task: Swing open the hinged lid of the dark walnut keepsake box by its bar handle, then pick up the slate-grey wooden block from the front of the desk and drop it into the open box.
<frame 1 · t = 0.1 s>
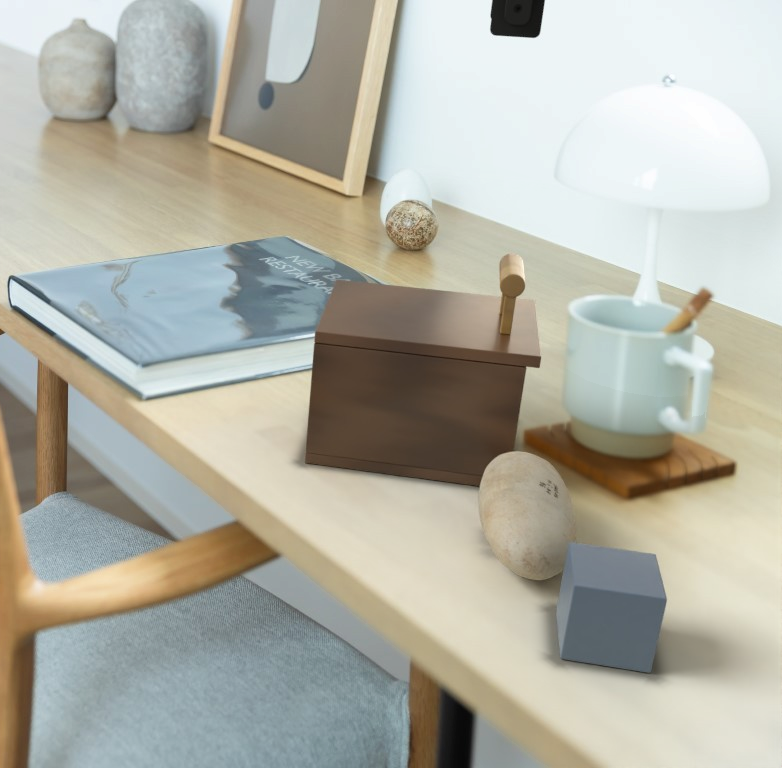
hand: (513, 28, 81), 28 cm above the table, tool pointing down, fingers open, 9 cm apart
stone: (517, 550, 71), on the table
block: (601, 641, 62), on the table
keepsake box: (409, 440, 84), on the table
lid: (433, 291, 80), point 11 cm above the table, hinge at 0.0°
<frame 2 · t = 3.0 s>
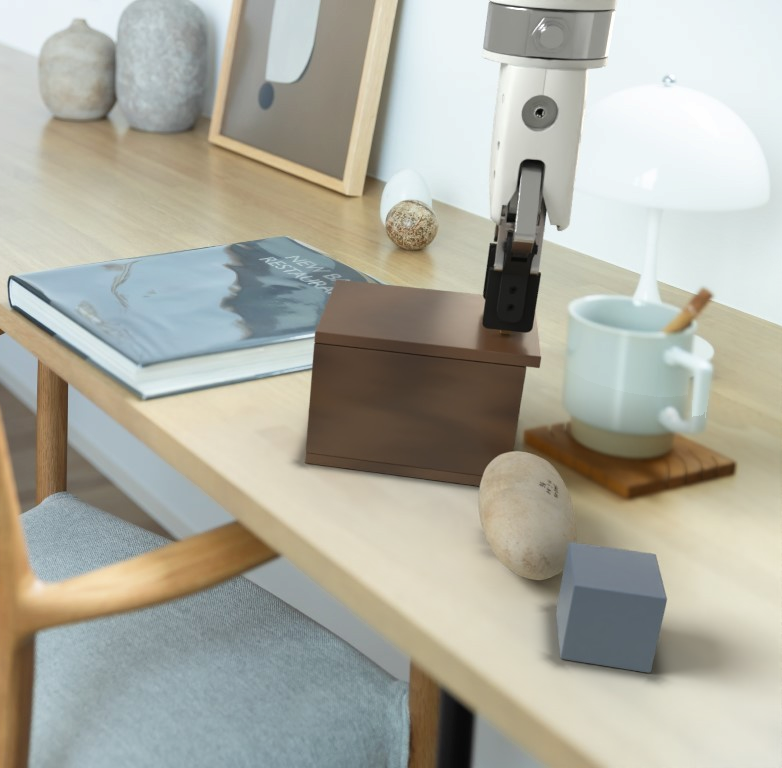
hand: (506, 312, 79), 10 cm above the table, tool pointing down, fingers closed on lid, 5 cm apart
lid: (433, 291, 80), point 11 cm above the table, hinge at 0.0°, touching gripper
everything else where it was.
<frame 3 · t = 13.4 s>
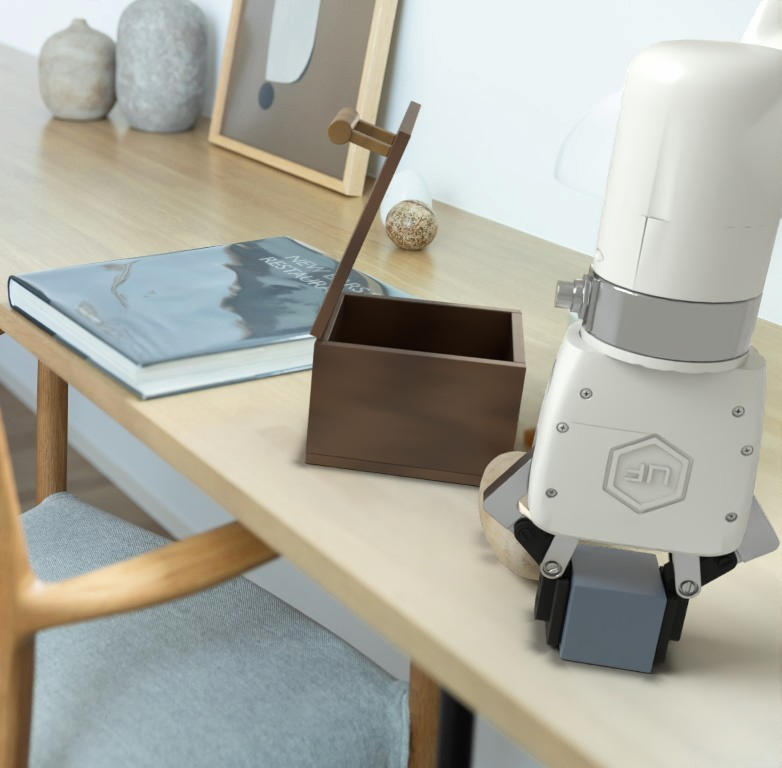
hand: (602, 635, 62), 0 cm above the table, tool pointing down, fingers closed on block, 4 cm apart
block: (601, 641, 62), on the table, touching gripper
lid: (338, 204, 79), point 17 cm above the table, hinge at 71.8°
everything else where it was.
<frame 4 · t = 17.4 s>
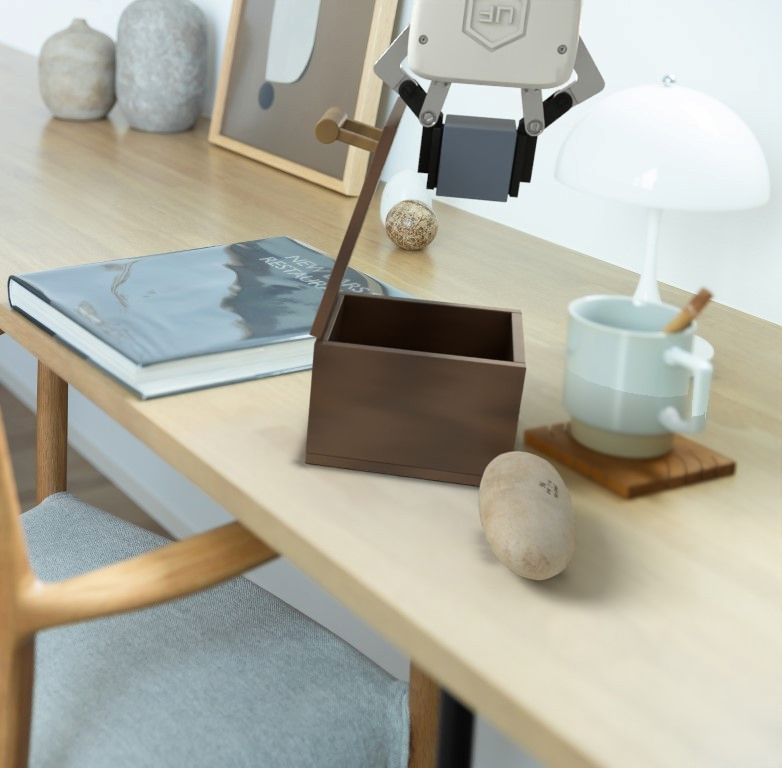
hand: (472, 185, 77), 19 cm above the table, tool pointing down, fingers closed on block, 4 cm apart
block: (471, 191, 77), point 18 cm above the table, touching gripper
lid: (331, 203, 79), point 17 cm above the table, hinge at 75.5°
everything else where it was.
when the fingers open (9 cm above the table, at t = 20.1 s): block drops 8 cm, resting on keepsake box.
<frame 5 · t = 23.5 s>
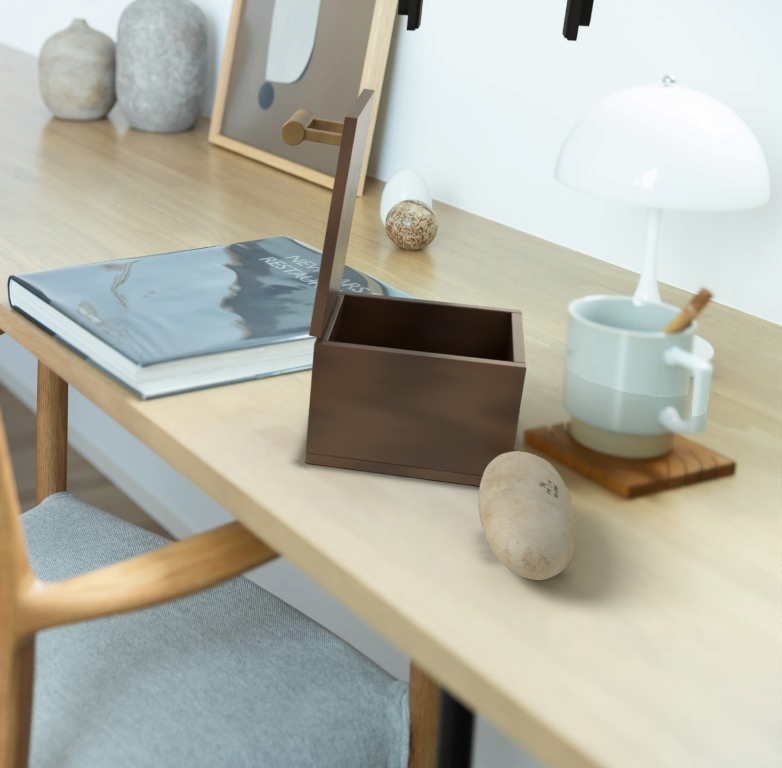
hand: (490, 33, 74), 28 cm above the table, tool pointing down, fingers open, 9 cm apart
block: (440, 428, 84), point 1 cm above the table, touching keepsake box
lid: (312, 204, 79), point 17 cm above the table, hinge at 85.3°
everything else where it was.
at the end: lid at +85° (first picture: +0°); block inside the target area in the keepsake box (2.2 cm from its centre), point 0.8 cm above the keepsake box's base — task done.
